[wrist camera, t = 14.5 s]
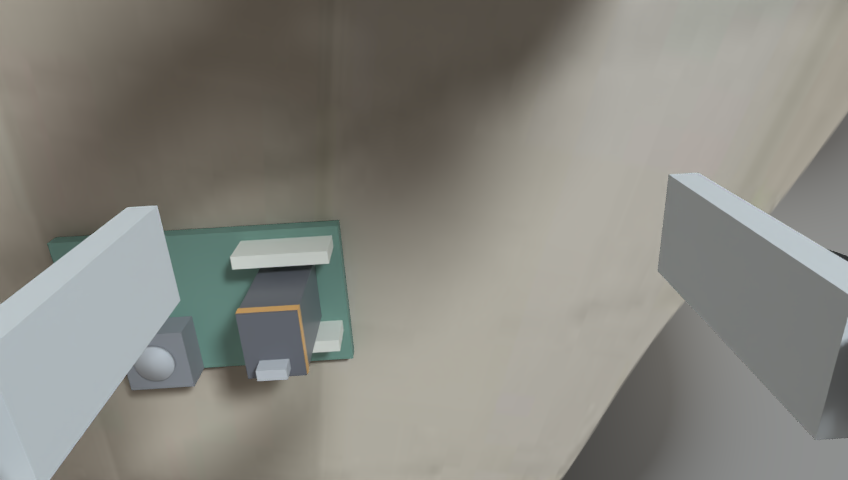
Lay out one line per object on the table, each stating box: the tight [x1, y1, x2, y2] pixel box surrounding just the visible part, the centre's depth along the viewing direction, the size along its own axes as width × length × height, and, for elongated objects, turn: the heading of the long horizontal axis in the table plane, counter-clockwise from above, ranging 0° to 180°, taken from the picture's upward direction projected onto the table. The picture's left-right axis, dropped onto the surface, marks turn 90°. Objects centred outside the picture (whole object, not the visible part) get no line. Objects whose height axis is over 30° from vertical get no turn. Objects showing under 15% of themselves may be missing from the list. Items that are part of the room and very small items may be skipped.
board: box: [47, 220, 354, 390], centre depth 46 cm, size 12×22×4 cm, turn 93°
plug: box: [235, 265, 322, 381], centre depth 42 cm, size 5×4×9 cm
